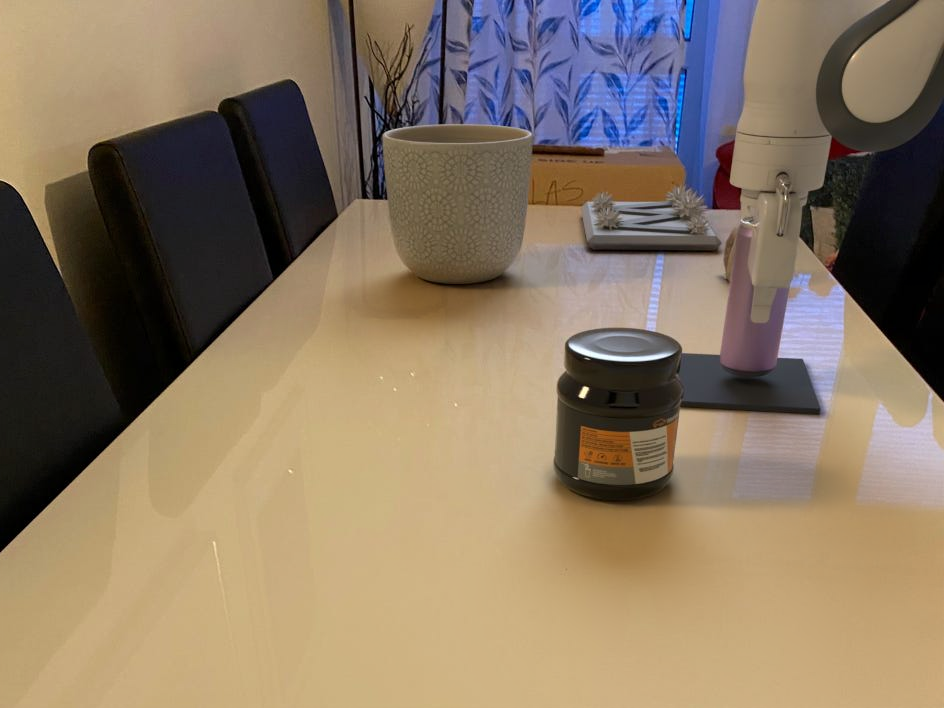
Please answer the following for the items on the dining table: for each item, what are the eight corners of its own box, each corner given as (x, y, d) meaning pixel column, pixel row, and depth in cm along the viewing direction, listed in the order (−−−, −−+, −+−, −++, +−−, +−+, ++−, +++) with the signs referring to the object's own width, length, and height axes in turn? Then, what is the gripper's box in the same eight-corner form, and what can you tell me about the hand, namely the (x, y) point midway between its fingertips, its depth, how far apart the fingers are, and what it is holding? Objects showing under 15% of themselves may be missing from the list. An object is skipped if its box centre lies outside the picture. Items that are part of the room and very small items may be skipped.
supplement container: (665, 511, 82) (682, 369, 75) (540, 497, 84) (546, 358, 77) (677, 462, 90) (694, 330, 84) (564, 450, 93) (571, 320, 86)
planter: (361, 272, 149) (353, 131, 138) (470, 252, 159) (470, 120, 149) (443, 301, 135) (441, 148, 125) (557, 278, 146) (563, 134, 135)
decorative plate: (580, 215, 184) (582, 173, 180) (696, 215, 183) (701, 173, 179) (586, 252, 159) (589, 204, 156) (721, 253, 158) (727, 205, 154)
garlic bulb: (743, 289, 149) (759, 219, 146) (787, 292, 142) (805, 218, 140) (699, 277, 144) (716, 204, 141) (743, 279, 137) (761, 203, 134)
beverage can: (765, 381, 103) (790, 229, 95) (710, 372, 106) (730, 223, 97) (782, 365, 107) (807, 218, 99) (728, 356, 110) (749, 212, 101)
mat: (802, 363, 113) (803, 358, 113) (819, 414, 100) (820, 408, 100) (677, 357, 115) (678, 352, 115) (678, 406, 102) (679, 401, 102)
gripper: (826, 184, 86) (798, 342, 94) (801, 151, 103) (778, 287, 111) (752, 183, 87) (730, 339, 95) (739, 150, 104) (720, 285, 112)
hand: (756, 311), depth 103 cm, fingers closed on beverage can, 6 cm apart
